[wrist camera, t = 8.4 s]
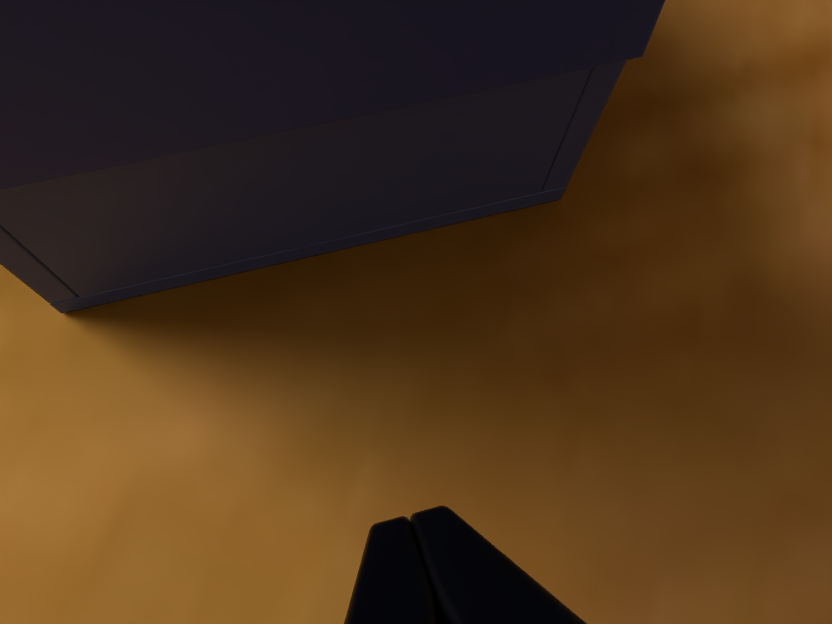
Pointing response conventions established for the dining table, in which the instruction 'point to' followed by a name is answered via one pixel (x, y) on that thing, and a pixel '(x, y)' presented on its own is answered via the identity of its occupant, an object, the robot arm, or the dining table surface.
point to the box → (299, 191)
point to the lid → (266, 67)
